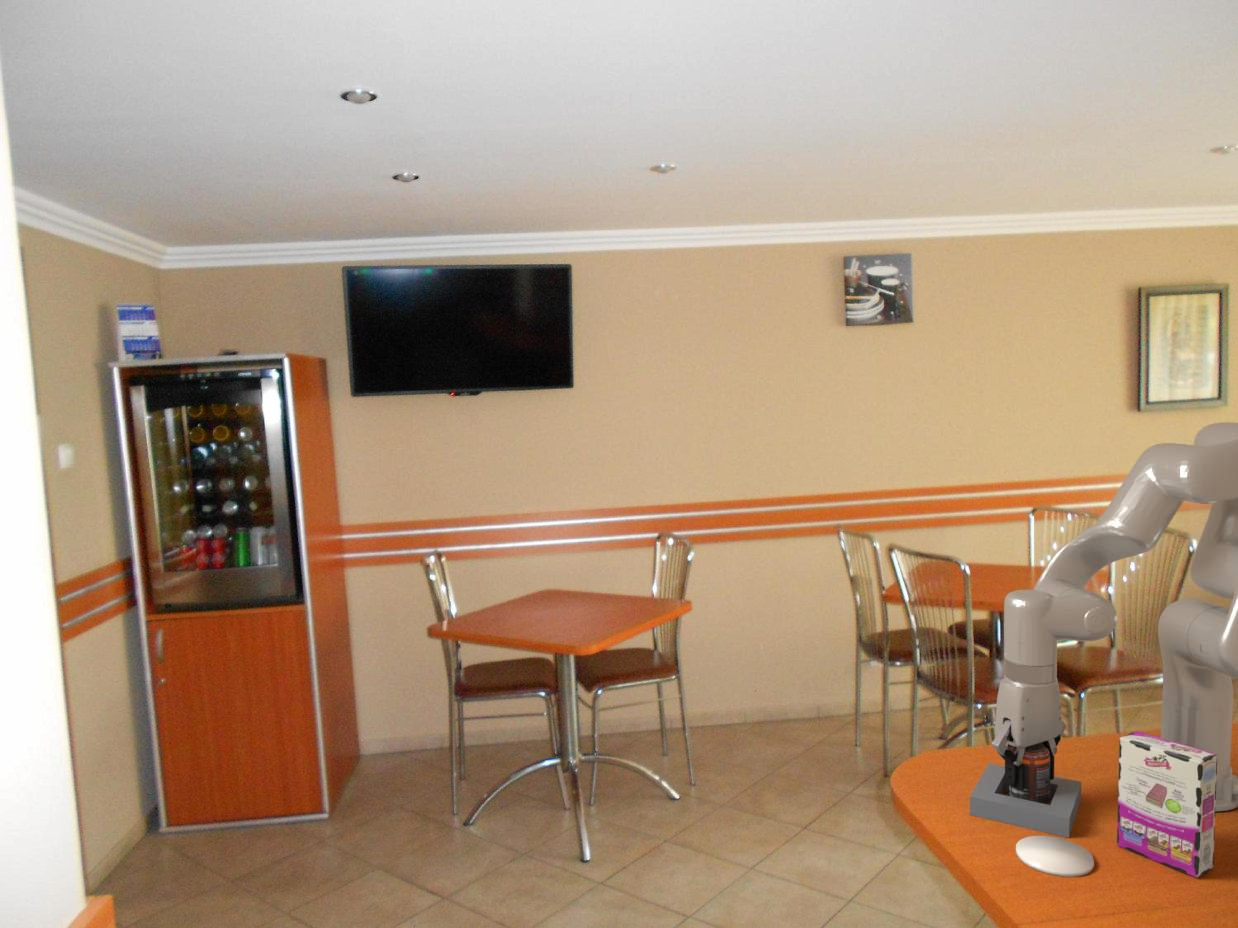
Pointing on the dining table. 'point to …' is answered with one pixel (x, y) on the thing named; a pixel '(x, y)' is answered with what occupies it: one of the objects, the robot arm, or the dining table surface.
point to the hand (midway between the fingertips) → (1029, 780)
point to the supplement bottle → (1034, 775)
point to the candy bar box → (1167, 802)
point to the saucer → (1055, 856)
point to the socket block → (1026, 803)
